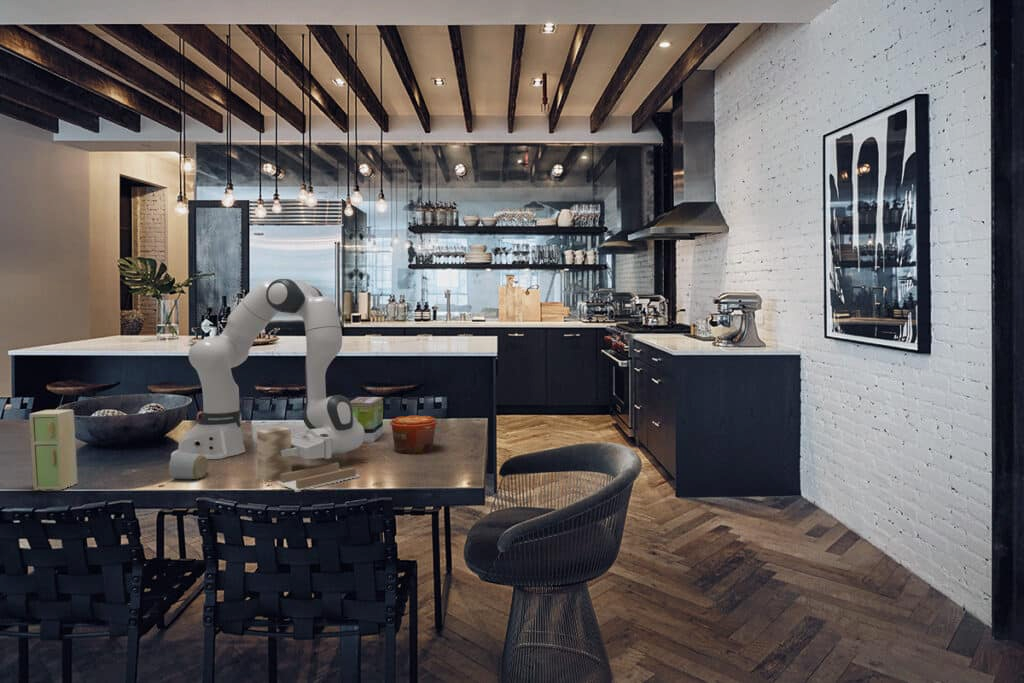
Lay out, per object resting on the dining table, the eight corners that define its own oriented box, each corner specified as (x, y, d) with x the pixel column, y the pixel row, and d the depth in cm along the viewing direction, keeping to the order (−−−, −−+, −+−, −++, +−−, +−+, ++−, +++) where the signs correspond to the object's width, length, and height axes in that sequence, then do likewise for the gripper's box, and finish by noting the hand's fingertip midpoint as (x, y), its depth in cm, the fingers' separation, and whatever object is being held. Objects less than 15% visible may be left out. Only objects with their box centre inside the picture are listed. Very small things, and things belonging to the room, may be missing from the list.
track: (296, 492, 177) (296, 481, 177) (276, 484, 184) (276, 474, 184) (359, 477, 192) (359, 467, 191) (338, 470, 199) (338, 461, 199)
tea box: (374, 442, 238) (374, 402, 237) (347, 442, 238) (346, 402, 237) (383, 434, 253) (383, 396, 252) (357, 434, 253) (356, 396, 252)
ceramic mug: (195, 482, 186) (195, 455, 186) (168, 481, 187) (167, 454, 186) (215, 473, 196) (215, 447, 196) (189, 472, 197) (189, 447, 197)
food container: (410, 443, 238) (410, 413, 237) (446, 448, 230) (446, 417, 229) (380, 451, 224) (379, 420, 224) (417, 457, 216) (417, 425, 216)
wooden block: (265, 482, 187) (264, 433, 186) (258, 479, 190) (256, 430, 189) (291, 476, 192) (290, 429, 192) (283, 473, 195) (283, 427, 195)
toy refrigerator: (30, 491, 177) (26, 413, 176) (49, 484, 184) (46, 409, 183) (60, 491, 177) (56, 413, 176) (78, 484, 184) (75, 409, 183)
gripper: (297, 428, 207) (255, 434, 197) (333, 437, 193) (290, 445, 183) (297, 448, 208) (255, 455, 197) (334, 459, 194) (290, 467, 184)
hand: (272, 450), depth 190 cm, fingers open, 8 cm apart
